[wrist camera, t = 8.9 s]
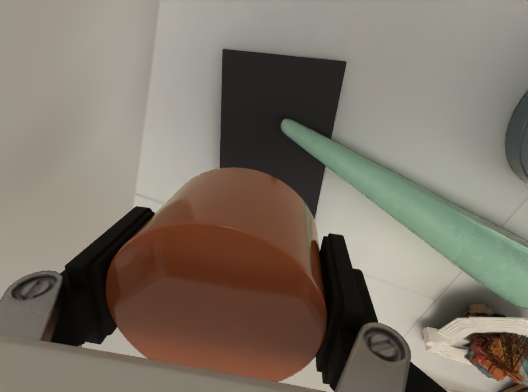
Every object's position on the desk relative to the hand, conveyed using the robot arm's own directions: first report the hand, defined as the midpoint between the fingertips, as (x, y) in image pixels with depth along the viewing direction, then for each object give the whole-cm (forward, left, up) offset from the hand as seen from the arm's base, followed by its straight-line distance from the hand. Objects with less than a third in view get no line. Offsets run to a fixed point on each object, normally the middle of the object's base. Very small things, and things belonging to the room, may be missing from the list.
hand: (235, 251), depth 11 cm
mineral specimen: (+17, +26, -16) cm, 35 cm away
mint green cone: (+1, +14, -14) cm, 19 cm away
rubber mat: (0, 0, -16) cm, 16 cm away
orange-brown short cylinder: (0, 0, -1) cm, 1 cm away
